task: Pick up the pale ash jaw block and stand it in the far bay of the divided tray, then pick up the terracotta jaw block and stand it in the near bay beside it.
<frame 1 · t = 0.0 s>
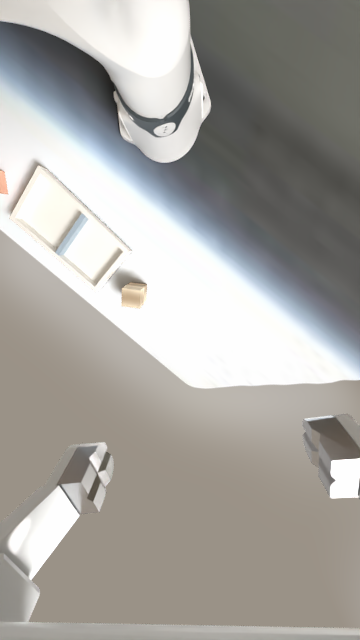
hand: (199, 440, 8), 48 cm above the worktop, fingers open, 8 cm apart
ash jaw block: (138, 291, 56), on the worktop
divided tray: (76, 235, 52), on the worktop
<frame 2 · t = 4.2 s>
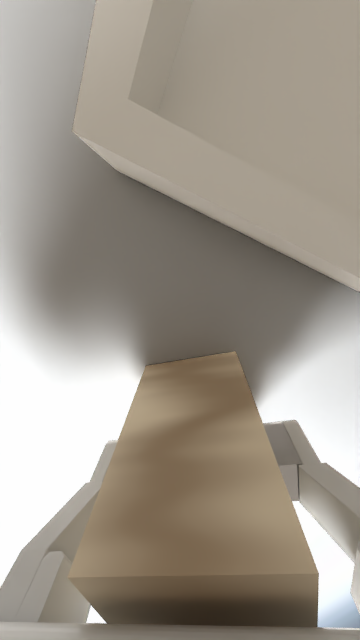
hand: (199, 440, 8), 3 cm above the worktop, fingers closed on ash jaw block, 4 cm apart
ash jaw block: (198, 394, 11), on the worktop, touching gripper
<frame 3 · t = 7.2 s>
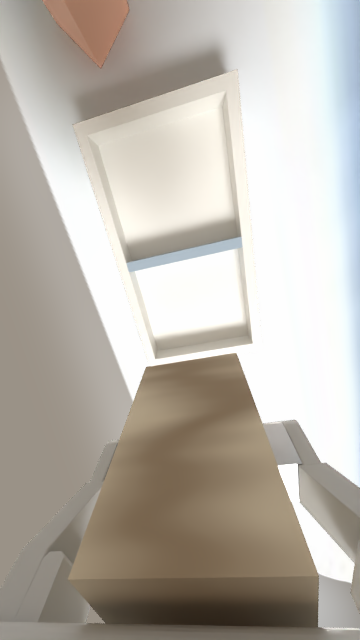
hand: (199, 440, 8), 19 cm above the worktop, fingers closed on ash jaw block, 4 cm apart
ash jaw block: (198, 395, 11), point 16 cm above the worktop, touching gripper
divided tray: (183, 253, 24), on the worktop
terracotta jaw block: (92, 17, 17), on the worktop
when the fingers open (5 cm above the worktop, at t = 10.3 s): ash jaw block drops 1 cm, resting on divided tray.
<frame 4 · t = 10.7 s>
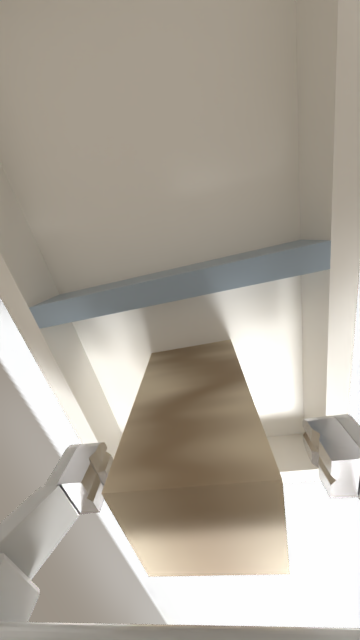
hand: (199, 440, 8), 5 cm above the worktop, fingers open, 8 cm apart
ash jaw block: (197, 379, 12), point 1 cm above the worktop, touching divided tray
divided tray: (174, 276, 11), on the worktop
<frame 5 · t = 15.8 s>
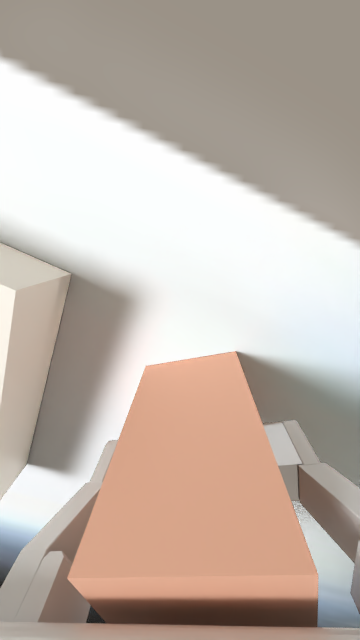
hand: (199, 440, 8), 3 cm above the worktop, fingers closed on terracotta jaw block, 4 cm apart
terracotta jaw block: (198, 394, 11), on the worktop, touching gripper
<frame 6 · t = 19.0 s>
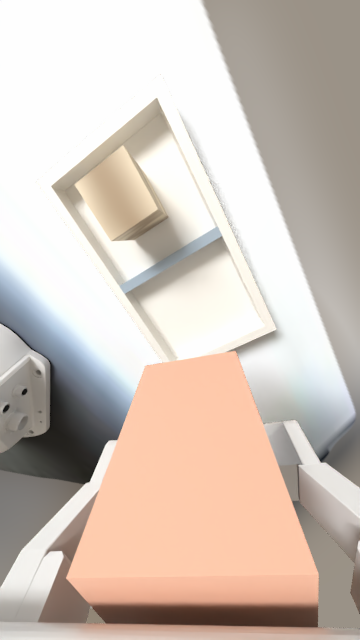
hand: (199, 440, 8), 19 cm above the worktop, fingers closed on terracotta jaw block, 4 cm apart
ash jaw block: (139, 208, 22), point 1 cm above the worktop, touching divided tray
divided tray: (170, 259, 24), on the worktop
terracotta jaw block: (198, 394, 11), point 16 cm above the worktop, touching gripper
when the fingers open (5 cm above the worktop, at t = 22.1 s): terracotta jaw block drops 1 cm, resting on divided tray.
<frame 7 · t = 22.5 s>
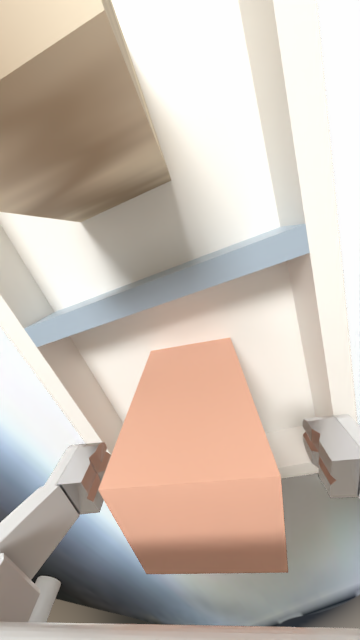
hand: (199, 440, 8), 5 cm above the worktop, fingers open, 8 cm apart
ash jaw block: (99, 142, 8), point 1 cm above the worktop, touching divided tray
divided tray: (161, 280, 11), on the worktop
terracotta jaw block: (197, 377, 12), point 1 cm above the worktop, touching divided tray
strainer: (50, 579, 26), on the worktop
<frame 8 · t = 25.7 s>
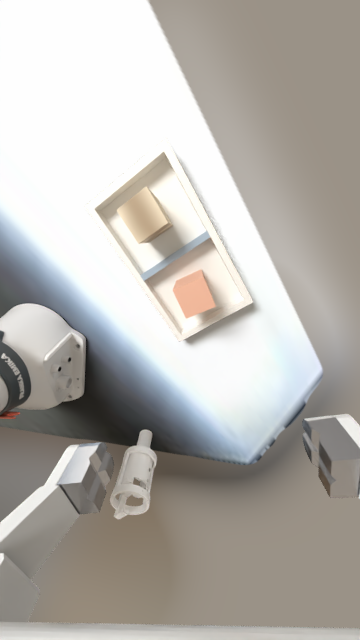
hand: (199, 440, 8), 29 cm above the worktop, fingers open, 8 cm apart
ash jaw block: (152, 220, 31), point 1 cm above the worktop, touching divided tray
divided tray: (175, 255, 34), on the worktop
terracotta jaw block: (194, 287, 35), point 1 cm above the worktop, touching divided tray
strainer: (146, 433, 50), on the worktop
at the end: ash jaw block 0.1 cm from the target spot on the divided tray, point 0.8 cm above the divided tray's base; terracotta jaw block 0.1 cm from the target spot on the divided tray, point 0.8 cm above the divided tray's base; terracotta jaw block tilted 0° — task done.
